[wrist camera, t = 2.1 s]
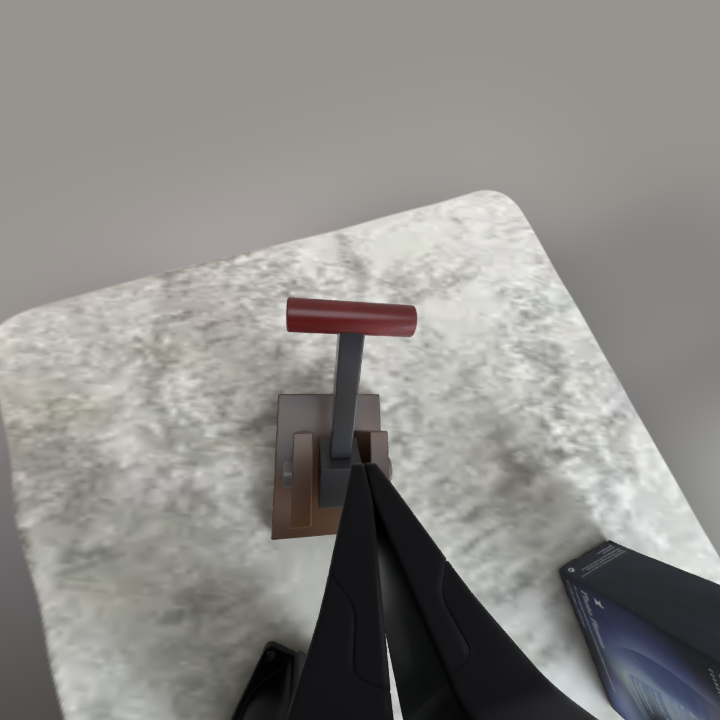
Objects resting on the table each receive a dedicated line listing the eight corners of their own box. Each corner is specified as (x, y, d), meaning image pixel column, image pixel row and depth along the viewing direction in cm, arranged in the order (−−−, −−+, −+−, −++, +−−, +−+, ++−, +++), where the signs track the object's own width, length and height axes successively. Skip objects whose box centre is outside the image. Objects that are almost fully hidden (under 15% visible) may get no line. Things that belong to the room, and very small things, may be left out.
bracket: (279, 395, 23) (265, 378, 15) (376, 395, 24) (410, 380, 16) (273, 534, 20) (252, 603, 12) (380, 524, 22) (423, 580, 14)
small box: (552, 569, 23) (737, 676, 13) (607, 536, 25) (810, 610, 15) (609, 713, 22) (873, 962, 12) (665, 668, 23) (939, 852, 13)
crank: (289, 291, 12) (285, 304, 10) (406, 299, 14) (424, 313, 11) (289, 475, 17) (286, 511, 15) (377, 471, 18) (386, 503, 16)
